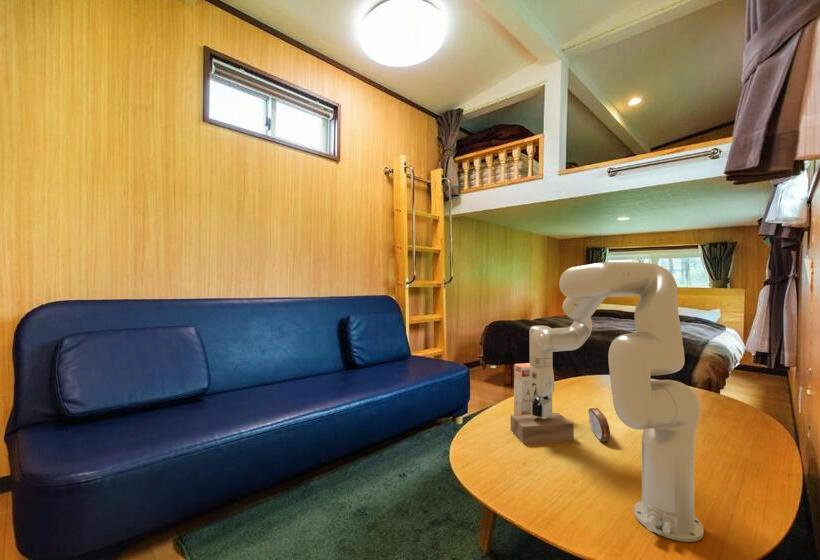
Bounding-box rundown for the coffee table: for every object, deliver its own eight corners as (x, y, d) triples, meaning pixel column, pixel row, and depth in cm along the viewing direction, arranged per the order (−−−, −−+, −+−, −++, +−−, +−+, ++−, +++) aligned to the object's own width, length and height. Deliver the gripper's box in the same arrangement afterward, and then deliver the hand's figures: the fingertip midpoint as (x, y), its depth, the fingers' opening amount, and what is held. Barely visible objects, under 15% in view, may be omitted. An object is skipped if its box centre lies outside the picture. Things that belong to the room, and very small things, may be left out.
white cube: (544, 419, 120) (544, 404, 120) (531, 415, 123) (530, 400, 123) (551, 415, 123) (551, 400, 123) (537, 411, 127) (537, 397, 127)
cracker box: (522, 421, 136) (521, 367, 135) (513, 415, 141) (513, 363, 141) (553, 417, 139) (553, 364, 139) (543, 412, 145) (543, 361, 145)
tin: (611, 446, 115) (611, 420, 115) (600, 445, 116) (600, 419, 116) (596, 427, 130) (596, 404, 130) (587, 426, 131) (587, 404, 131)
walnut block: (573, 441, 119) (573, 423, 119) (522, 444, 117) (522, 426, 117) (557, 429, 129) (557, 412, 129) (510, 431, 127) (510, 415, 127)
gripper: (539, 367, 115) (540, 423, 115) (562, 359, 126) (562, 410, 127) (518, 363, 120) (518, 417, 120) (541, 356, 132) (542, 404, 132)
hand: (541, 413), depth 123 cm, fingers open, 5 cm apart
